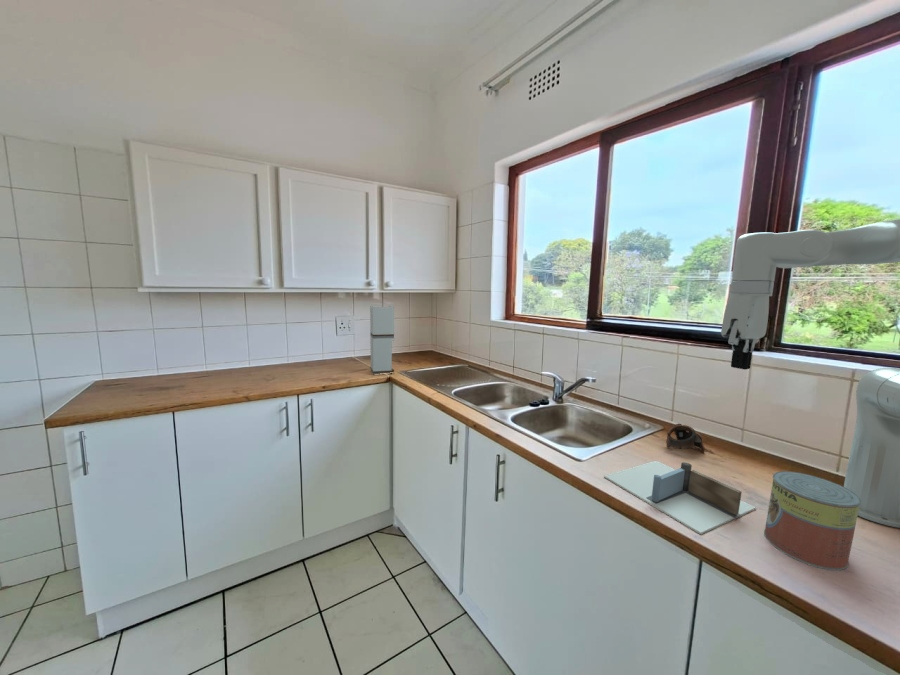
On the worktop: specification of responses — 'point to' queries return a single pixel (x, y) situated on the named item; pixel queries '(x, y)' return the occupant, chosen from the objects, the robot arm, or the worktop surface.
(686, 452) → the worktop surface
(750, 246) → the robot arm
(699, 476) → the fixed fence section
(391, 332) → the grooved grey pillar
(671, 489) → the hinged fence panel
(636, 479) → the card
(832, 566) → the canned food
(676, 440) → the brown open ring frame
